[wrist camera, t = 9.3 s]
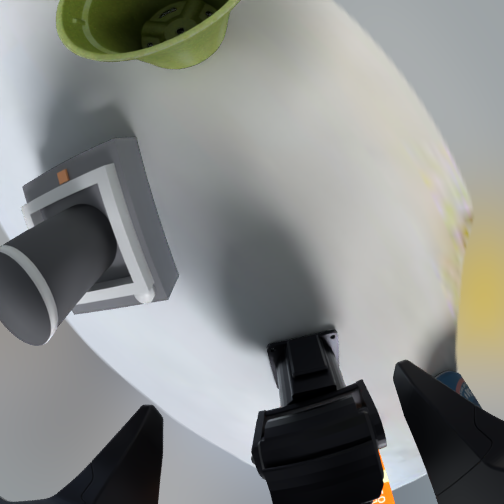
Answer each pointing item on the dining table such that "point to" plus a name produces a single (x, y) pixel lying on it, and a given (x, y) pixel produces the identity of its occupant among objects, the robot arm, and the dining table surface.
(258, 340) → the dining table surface
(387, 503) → the orange juice
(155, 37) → the plant pot
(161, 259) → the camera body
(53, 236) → the lens
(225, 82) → the dining table surface
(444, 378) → the soda can
